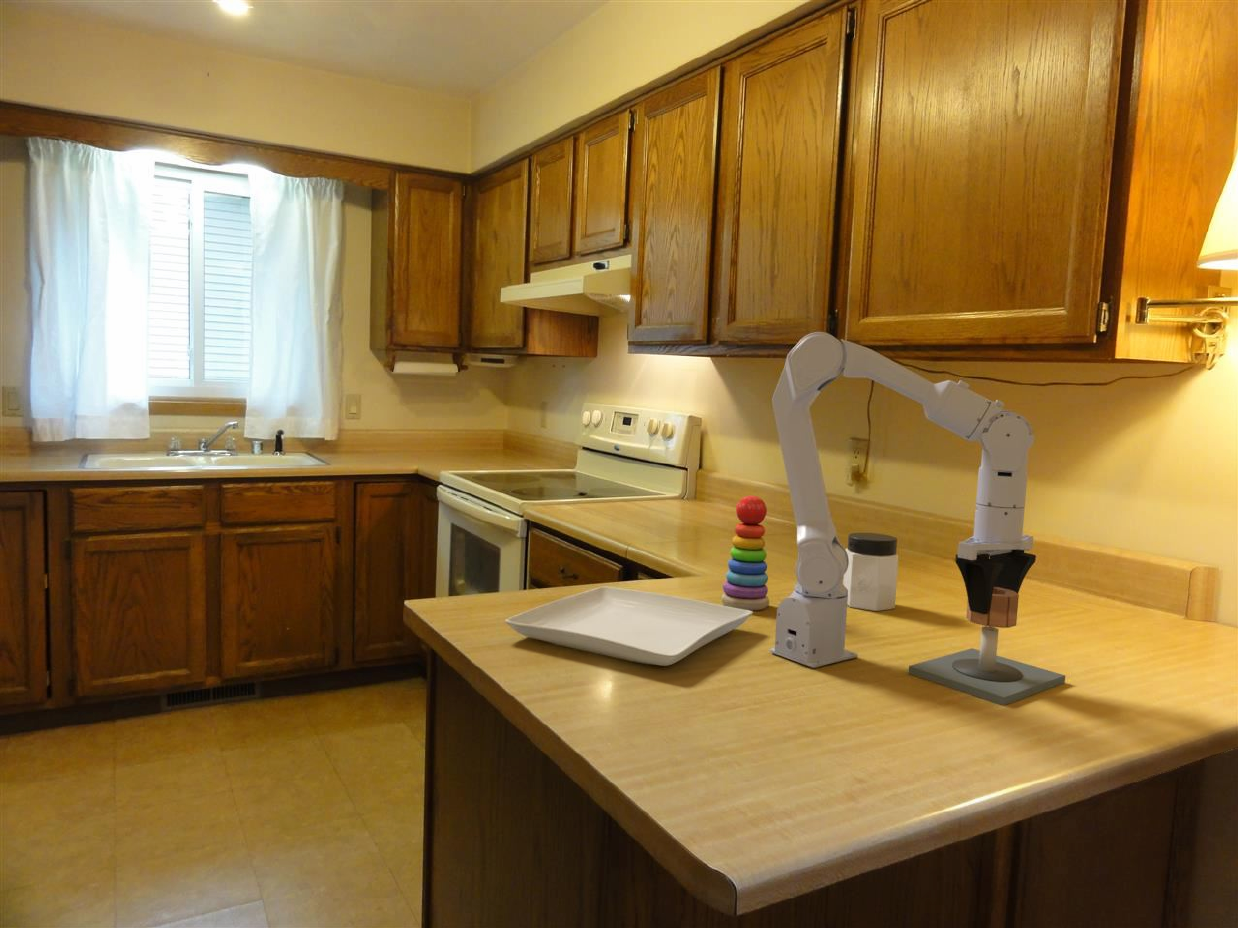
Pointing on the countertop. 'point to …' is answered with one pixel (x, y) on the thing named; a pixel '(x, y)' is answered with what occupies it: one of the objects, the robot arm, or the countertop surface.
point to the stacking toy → (748, 559)
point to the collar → (998, 610)
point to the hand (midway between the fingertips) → (991, 609)
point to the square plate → (629, 624)
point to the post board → (987, 673)
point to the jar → (871, 571)
